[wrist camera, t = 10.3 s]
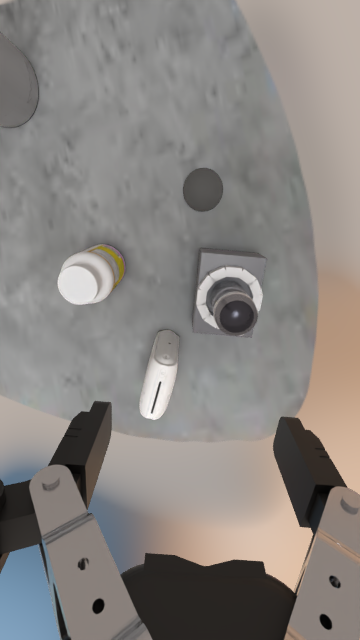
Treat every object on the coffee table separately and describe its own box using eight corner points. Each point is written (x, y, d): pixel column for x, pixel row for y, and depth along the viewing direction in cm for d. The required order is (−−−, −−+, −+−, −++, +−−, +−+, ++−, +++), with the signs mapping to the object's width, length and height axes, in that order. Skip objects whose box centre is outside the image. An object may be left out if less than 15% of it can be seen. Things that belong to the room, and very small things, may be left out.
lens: (207, 312, 42) (212, 335, 35) (211, 277, 40) (217, 294, 33) (242, 315, 42) (254, 339, 35) (248, 281, 40) (262, 298, 33)
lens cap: (181, 209, 42) (181, 209, 41) (185, 166, 40) (185, 166, 39) (219, 213, 42) (219, 213, 42) (224, 170, 40) (225, 170, 40)
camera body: (191, 320, 48) (192, 335, 42) (199, 247, 44) (201, 253, 38) (245, 325, 48) (253, 341, 43) (258, 253, 44) (269, 259, 38)
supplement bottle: (89, 288, 46) (56, 315, 35) (79, 246, 44) (40, 260, 32) (130, 283, 46) (111, 309, 34) (122, 241, 44) (98, 253, 32)
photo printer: (157, 326, 49) (148, 362, 37) (181, 332, 49) (180, 370, 38) (144, 376, 52) (133, 423, 41) (167, 381, 53) (162, 429, 41)
